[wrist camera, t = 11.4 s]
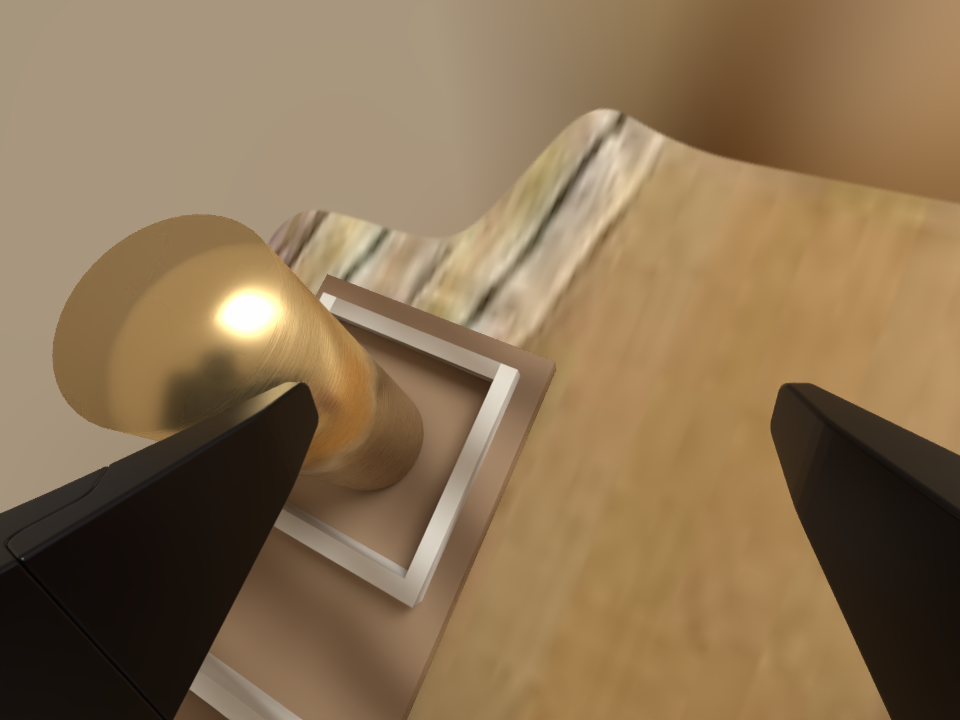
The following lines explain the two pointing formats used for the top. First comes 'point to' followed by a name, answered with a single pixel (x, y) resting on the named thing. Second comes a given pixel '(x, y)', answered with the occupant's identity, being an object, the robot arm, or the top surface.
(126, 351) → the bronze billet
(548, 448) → the top surface
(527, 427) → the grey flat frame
